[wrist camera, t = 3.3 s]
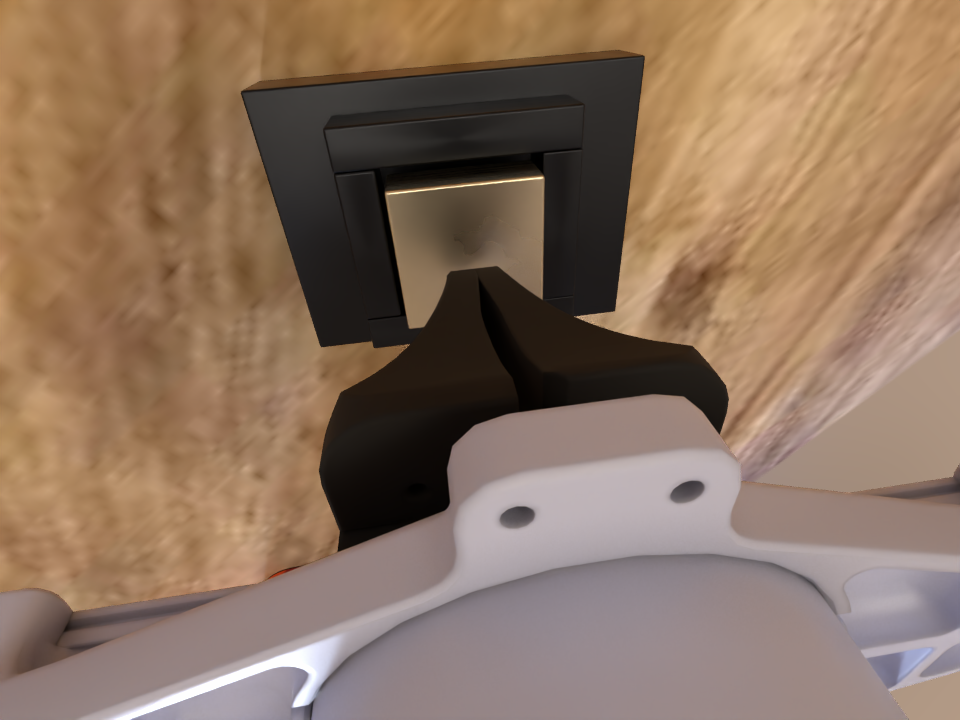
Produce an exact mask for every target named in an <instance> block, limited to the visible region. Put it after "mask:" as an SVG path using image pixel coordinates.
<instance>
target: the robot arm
mask: <svg viewBox="0 0 960 720" xmlns="http://www.w3.org/2000/svg"><path fill="white" fill-rule="evenodd" d="M728 401H729V398H728V393H727V389H726V385H725V384H724V383H723V381H722V380H721V378H720V377H719V376H718V374H717V373H716V372H715V371H714V370H713V368H712V367H711V366H710V365H709V363H708V362H707V361H706V360H705V359H704V358H703V357H702V356H701V354H700V353H699V352H698V351H697V350H696V349H695V348H694V347H693V346H689V345H681V344H674V343H667V342H659V341H652V340H647V339H643V338H638V337H634V336H629V335H625V334H621V333H618V332H614V331H611V330H608V329H605V328H602V327H599V326H596V325H593V324H590V323H588V322H585V321H582V320H580V319H578V318H576V317H574V316H572V315H569V314H567V313H565V312H563V311H561V310H559V309H557V308H556V307H554V306H552V305H550V304H549V303H547V302H545V301H544V300H542V299H541V298H539V297H538V296H536V295H535V294H533V293H532V292H530V291H529V290H527V289H526V288H525V287H523V286H522V285H521V284H519V283H518V282H517V281H516V280H514V279H513V278H512V277H510V276H509V275H508V274H507V273H506V272H504V271H503V270H502V269H501V268H499V267H498V266H492V267H483V268H475V269H466V270H457V271H450V272H449V274H448V275H447V279H446V284H445V287H444V290H443V293H442V295H441V297H440V299H439V302H438V304H437V306H436V308H435V310H434V312H433V313H432V315H431V317H430V318H429V320H428V322H427V323H426V325H425V326H424V328H423V329H422V331H421V332H420V333H419V335H418V336H417V337H416V338H415V339H414V341H413V342H412V343H411V344H410V345H409V346H408V347H407V348H406V349H405V350H404V351H403V352H402V353H401V354H400V355H399V356H398V357H397V358H395V359H394V360H393V361H392V362H390V363H389V364H388V365H386V366H385V367H384V368H382V369H381V370H379V371H378V372H376V373H375V374H373V375H372V376H370V377H368V378H367V379H365V380H363V381H361V382H359V383H358V384H356V385H354V386H352V387H350V388H348V389H346V390H344V391H342V392H341V393H340V395H339V398H338V400H337V402H336V405H335V408H334V410H333V413H332V416H331V418H330V421H329V424H328V427H327V430H326V434H325V438H324V443H323V449H322V456H321V462H320V468H319V473H320V478H321V484H322V487H323V490H324V492H325V495H326V497H327V500H328V502H329V505H330V507H331V510H332V512H333V515H334V517H335V520H336V522H337V525H338V528H339V530H340V535H339V544H338V552H337V553H335V554H332V555H330V556H327V557H324V558H322V559H319V560H317V561H314V562H312V563H309V564H306V565H304V566H301V567H299V568H296V569H294V570H291V571H288V572H286V573H283V574H281V575H278V576H276V577H273V578H270V579H268V580H265V581H263V582H260V583H258V584H252V585H245V586H239V587H232V588H226V589H219V590H212V591H206V592H199V593H193V594H186V595H180V596H173V597H167V598H160V599H154V600H147V601H141V602H134V603H128V604H121V605H115V606H108V607H102V608H95V609H89V610H82V611H76V612H73V611H72V610H71V608H70V607H69V606H68V604H67V603H66V602H65V601H64V600H63V599H62V598H61V597H60V596H59V595H57V594H55V593H53V592H51V591H48V590H44V589H39V588H26V589H19V590H13V591H6V592H0V720H909V719H908V718H907V716H906V715H905V713H904V712H903V710H902V709H901V708H900V706H899V705H898V703H897V702H896V700H895V699H894V698H893V696H892V695H891V693H890V692H889V691H892V690H896V689H899V688H903V687H906V686H909V685H913V684H917V683H920V682H923V681H927V680H930V679H934V678H937V677H941V676H944V675H948V674H951V673H955V672H958V671H960V464H959V465H958V467H957V469H956V471H955V472H954V476H953V477H949V478H943V479H936V480H930V481H923V482H918V483H911V484H904V485H897V486H891V487H884V488H878V489H871V490H865V491H858V492H851V493H846V492H837V491H828V490H819V489H809V488H801V487H792V486H783V485H773V484H765V483H756V482H747V481H741V464H740V462H739V461H738V460H737V458H736V457H735V456H734V454H733V453H732V451H731V450H730V449H729V447H728V446H727V445H726V443H725V442H724V441H723V439H722V438H721V436H720V432H721V429H722V426H723V423H724V420H725V417H726V414H727V407H728Z"/></svg>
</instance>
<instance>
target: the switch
mask: <svg viewBox="0 0 960 720" xmlns="http://www.w3.org/2000/svg"><path fill="white" fill-rule="evenodd" d="M544 188H545V177H544V175H543V174H542V173H541V171H540V170H539V169H538V168H537V167H536V165H535V164H534V163H533V162H532V161H531V160H525V161H516V162H506V163H496V164H486V165H476V166H466V167H456V168H446V169H436V170H426V171H416V172H407V173H397V174H388V175H387V176H386V184H385V200H386V205H387V211H388V217H389V222H390V228H391V233H392V239H393V245H394V250H395V256H396V261H397V267H398V273H399V278H400V284H401V289H402V295H403V301H404V306H405V312H406V317H407V323H408V327H409V328H410V329H413V328H421V327H424V326H425V325H426V323H427V322H428V320H429V318H430V317H431V315H432V313H433V312H434V310H435V308H436V306H437V304H438V302H439V299H440V297H441V295H442V293H443V290H444V287H445V284H446V279H447V275H448V274H449V272H450V271H457V270H466V269H475V268H483V267H492V266H498V267H499V268H501V269H502V270H503V271H504V272H506V273H507V274H508V275H509V276H510V277H512V278H513V279H514V280H516V281H517V282H518V283H519V284H521V285H522V286H523V287H525V288H526V289H527V290H529V291H530V292H532V293H533V294H535V295H536V296H538V297H539V298H541V299H542V300H543V254H544Z"/></svg>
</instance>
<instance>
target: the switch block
mask: <svg viewBox="0 0 960 720" xmlns="http://www.w3.org/2000/svg"><path fill="white" fill-rule="evenodd" d="M644 60H645V57H644V56H643V55H640V54H635V53H630V52H625V51H621V50H614V51H602V52H591V53H579V54H568V55H556V56H545V57H533V58H522V59H510V60H499V61H487V62H476V63H464V64H453V65H442V66H430V67H419V68H407V69H396V70H384V71H373V72H361V73H350V74H338V75H327V76H315V77H304V78H292V79H281V80H269V81H259V82H257V83H256V84H254V85H252V86H250V87H248V88H246V89H244V90H243V91H241V95H242V98H243V101H244V105H245V108H246V111H247V114H248V117H249V120H250V124H251V127H252V130H253V133H254V136H255V140H256V143H257V146H258V149H259V152H260V156H261V159H262V162H263V165H264V168H265V171H266V175H267V178H268V181H269V184H270V187H271V191H272V194H273V197H274V200H275V203H276V207H277V210H278V213H279V216H280V219H281V222H282V226H283V229H284V232H285V235H286V238H287V242H288V245H289V248H290V251H291V254H292V257H293V261H294V264H295V267H296V270H297V273H298V277H299V280H300V283H301V286H302V289H303V293H304V296H305V299H306V302H307V305H308V308H309V312H310V315H311V318H312V321H313V324H314V328H315V331H316V334H317V337H318V340H319V344H320V346H321V347H328V346H336V345H344V344H352V343H361V342H369V341H372V342H373V346H374V348H381V347H389V346H397V345H405V344H411V343H412V342H413V341H414V339H415V338H416V337H417V336H418V335H419V333H420V332H421V331H422V329H423V328H424V327H421V328H413V329H410V328H409V327H408V323H407V317H406V312H405V306H404V301H403V295H402V289H401V284H400V278H399V273H398V267H397V261H396V256H395V250H394V245H393V239H392V233H391V228H390V222H389V217H388V211H387V205H386V200H385V184H386V176H387V175H388V174H397V173H407V172H416V171H426V170H436V169H446V168H456V167H466V166H476V165H486V164H496V163H506V162H516V161H525V160H531V161H532V162H533V163H534V164H535V165H536V167H537V168H538V169H539V170H540V171H541V173H542V174H543V175H544V177H545V188H544V254H543V300H544V301H545V302H547V303H549V304H550V305H552V306H554V307H556V308H557V309H559V310H561V311H563V312H565V313H567V314H569V315H572V316H581V315H589V314H597V313H605V312H613V311H615V307H616V299H617V290H618V281H619V273H620V264H621V256H622V247H623V239H624V230H625V222H626V213H627V205H628V196H629V188H630V179H631V171H632V162H633V154H634V145H635V136H636V128H637V119H638V111H639V102H640V94H641V85H642V77H643V68H644Z"/></svg>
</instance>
